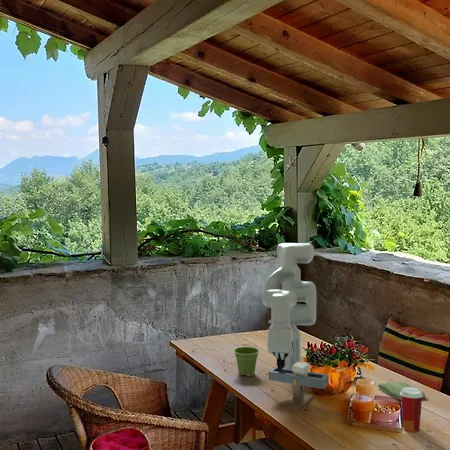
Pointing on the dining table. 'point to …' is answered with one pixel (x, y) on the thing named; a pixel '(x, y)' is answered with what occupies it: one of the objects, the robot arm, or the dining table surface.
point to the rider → (300, 368)
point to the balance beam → (298, 384)
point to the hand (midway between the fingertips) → (280, 368)
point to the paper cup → (411, 408)
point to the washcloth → (395, 388)
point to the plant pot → (246, 359)
